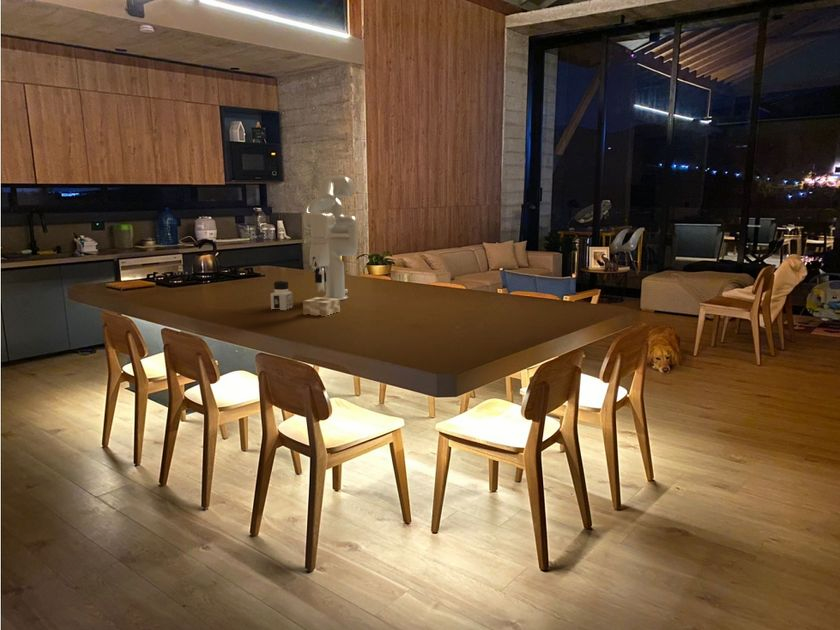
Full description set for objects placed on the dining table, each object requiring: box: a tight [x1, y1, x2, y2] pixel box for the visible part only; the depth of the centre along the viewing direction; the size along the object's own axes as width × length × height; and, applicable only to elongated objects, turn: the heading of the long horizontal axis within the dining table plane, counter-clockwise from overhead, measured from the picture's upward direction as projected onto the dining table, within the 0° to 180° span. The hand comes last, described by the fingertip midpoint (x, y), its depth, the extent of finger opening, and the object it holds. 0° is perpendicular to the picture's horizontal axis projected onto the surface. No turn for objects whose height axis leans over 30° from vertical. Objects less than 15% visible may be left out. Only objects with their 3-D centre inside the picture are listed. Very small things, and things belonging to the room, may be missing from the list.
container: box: [270, 280, 294, 311], centre depth 297 cm, size 8×8×13 cm
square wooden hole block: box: [302, 296, 341, 317], centre depth 287 cm, size 12×12×6 cm
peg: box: [317, 266, 326, 293], centre depth 285 cm, size 3×3×12 cm
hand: (320, 281), depth 285 cm, fingers closed on peg, 3 cm apart
